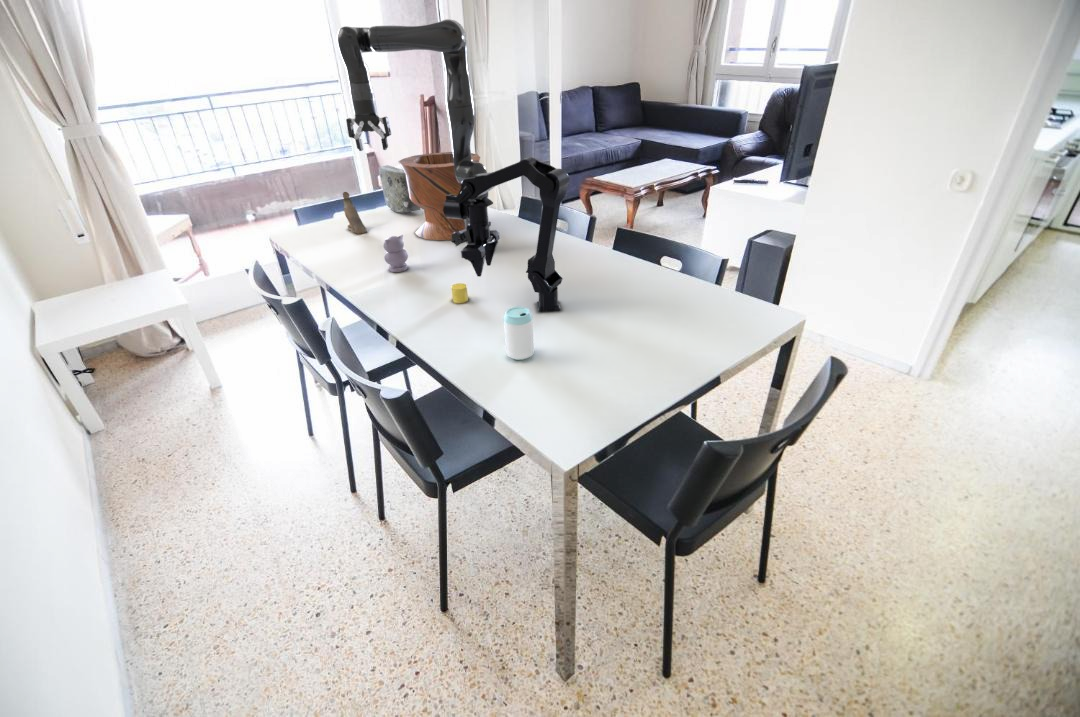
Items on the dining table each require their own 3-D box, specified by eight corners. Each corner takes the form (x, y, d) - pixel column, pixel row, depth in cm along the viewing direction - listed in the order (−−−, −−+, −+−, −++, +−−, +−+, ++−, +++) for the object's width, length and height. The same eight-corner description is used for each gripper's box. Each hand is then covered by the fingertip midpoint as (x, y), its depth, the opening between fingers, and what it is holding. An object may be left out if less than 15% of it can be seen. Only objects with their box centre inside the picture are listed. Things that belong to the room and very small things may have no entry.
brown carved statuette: (348, 234, 227) (335, 193, 221) (360, 231, 230) (348, 191, 223) (356, 234, 218) (343, 192, 211) (368, 231, 221) (355, 189, 214)
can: (533, 346, 129) (531, 304, 123) (534, 360, 123) (532, 317, 117) (506, 347, 129) (503, 306, 123) (506, 362, 123) (502, 318, 117)
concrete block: (383, 207, 257) (375, 166, 246) (398, 204, 261) (391, 164, 251) (406, 217, 239) (398, 174, 228) (422, 214, 243) (415, 171, 233)
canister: (461, 295, 159) (459, 282, 156) (471, 299, 156) (469, 285, 154) (449, 300, 156) (447, 286, 153) (460, 304, 153) (458, 290, 151)
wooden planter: (394, 239, 210) (380, 166, 195) (433, 216, 239) (423, 151, 223) (469, 244, 201) (460, 168, 186) (499, 220, 230) (494, 152, 214)
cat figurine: (401, 263, 186) (395, 231, 179) (414, 267, 181) (409, 235, 175) (382, 270, 180) (375, 237, 174) (395, 274, 176) (388, 241, 169)
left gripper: (387, 96, 169) (396, 147, 177) (346, 98, 169) (356, 149, 178) (380, 98, 163) (390, 151, 171) (337, 100, 163) (349, 152, 172)
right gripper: (463, 211, 155) (470, 259, 163) (440, 229, 140) (448, 281, 148) (497, 212, 153) (502, 260, 161) (477, 230, 137) (483, 282, 145)
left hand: (373, 150), depth 174 cm, fingers open, 8 cm apart
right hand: (484, 270), depth 154 cm, fingers open, 9 cm apart
